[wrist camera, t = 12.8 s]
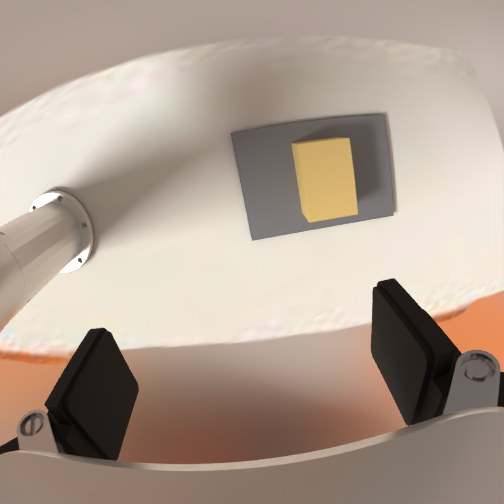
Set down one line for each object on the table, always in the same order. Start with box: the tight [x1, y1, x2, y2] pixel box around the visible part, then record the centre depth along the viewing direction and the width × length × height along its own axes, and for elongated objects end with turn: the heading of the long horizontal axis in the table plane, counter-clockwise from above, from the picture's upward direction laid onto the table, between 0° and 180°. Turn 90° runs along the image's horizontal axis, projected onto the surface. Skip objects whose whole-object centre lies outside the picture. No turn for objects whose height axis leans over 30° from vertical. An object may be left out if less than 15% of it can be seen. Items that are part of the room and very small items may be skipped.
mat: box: [231, 115, 393, 241], centre depth 38 cm, size 20×14×1 cm
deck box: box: [291, 137, 358, 223], centre depth 35 cm, size 9×6×4 cm, turn 11°
